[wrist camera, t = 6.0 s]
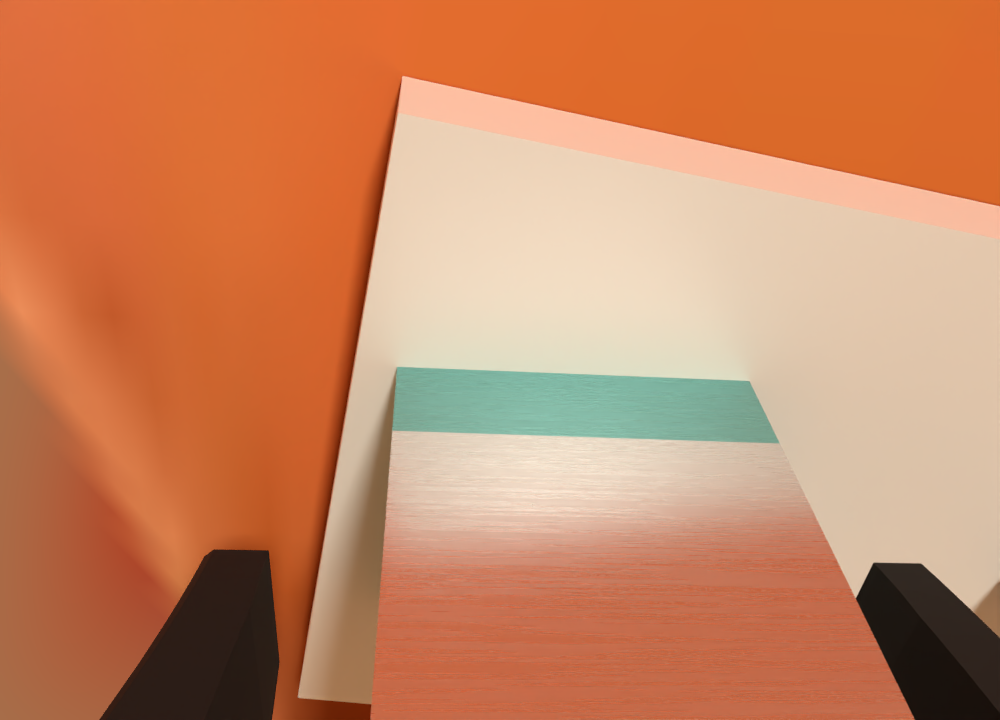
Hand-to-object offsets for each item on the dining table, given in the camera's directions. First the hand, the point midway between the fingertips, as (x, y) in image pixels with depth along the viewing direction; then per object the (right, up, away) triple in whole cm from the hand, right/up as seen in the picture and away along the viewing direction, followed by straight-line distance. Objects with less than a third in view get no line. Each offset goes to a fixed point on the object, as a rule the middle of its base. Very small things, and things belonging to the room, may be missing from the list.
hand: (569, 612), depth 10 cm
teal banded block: (0, +1, +1) cm, 2 cm away
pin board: (+4, +1, +3) cm, 5 cm away
